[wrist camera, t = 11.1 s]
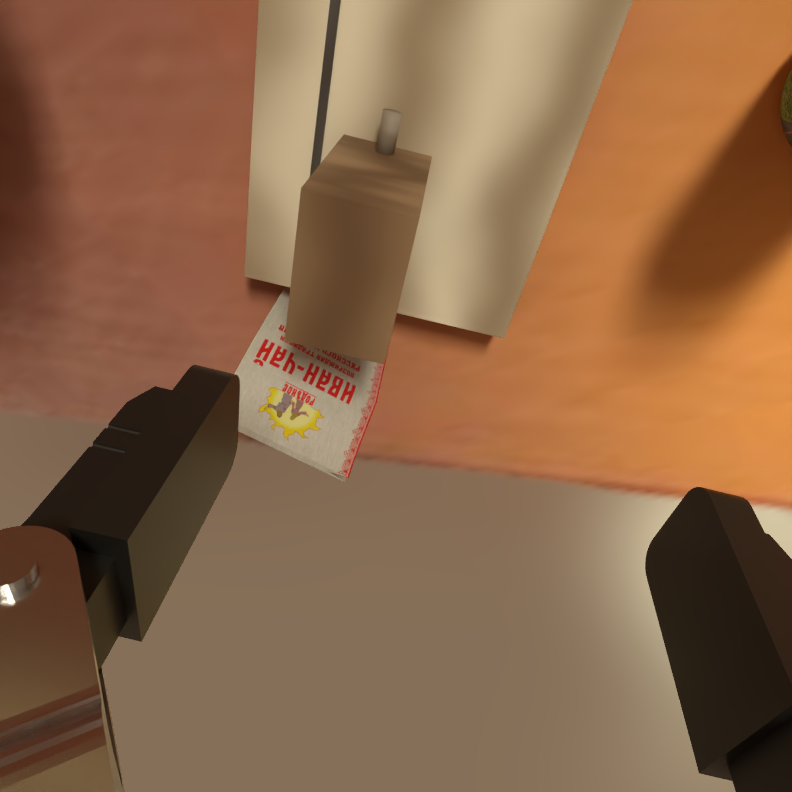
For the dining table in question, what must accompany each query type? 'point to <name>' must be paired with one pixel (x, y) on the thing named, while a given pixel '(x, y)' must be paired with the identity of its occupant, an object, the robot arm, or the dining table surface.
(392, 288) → the block
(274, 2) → the board
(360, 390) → the tea bag
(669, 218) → the dining table surface
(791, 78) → the beverage can
